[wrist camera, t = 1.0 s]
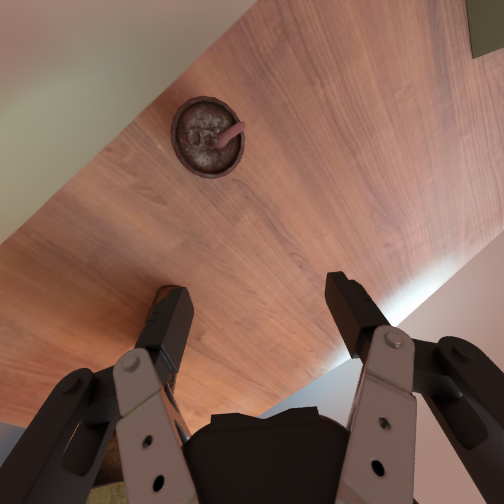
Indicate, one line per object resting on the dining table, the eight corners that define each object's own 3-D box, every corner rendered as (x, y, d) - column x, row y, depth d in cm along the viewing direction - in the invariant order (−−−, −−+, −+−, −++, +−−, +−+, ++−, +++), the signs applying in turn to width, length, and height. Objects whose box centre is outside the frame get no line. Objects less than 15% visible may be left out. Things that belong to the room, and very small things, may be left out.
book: (158, 283, 36) (71, 488, 14) (189, 286, 37) (158, 476, 15) (153, 349, 42) (87, 565, 20) (180, 350, 44) (148, 551, 21)
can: (240, 154, 30) (262, 152, 17) (205, 178, 30) (201, 193, 18) (216, 111, 27) (221, 71, 15) (178, 138, 27) (150, 122, 15)
